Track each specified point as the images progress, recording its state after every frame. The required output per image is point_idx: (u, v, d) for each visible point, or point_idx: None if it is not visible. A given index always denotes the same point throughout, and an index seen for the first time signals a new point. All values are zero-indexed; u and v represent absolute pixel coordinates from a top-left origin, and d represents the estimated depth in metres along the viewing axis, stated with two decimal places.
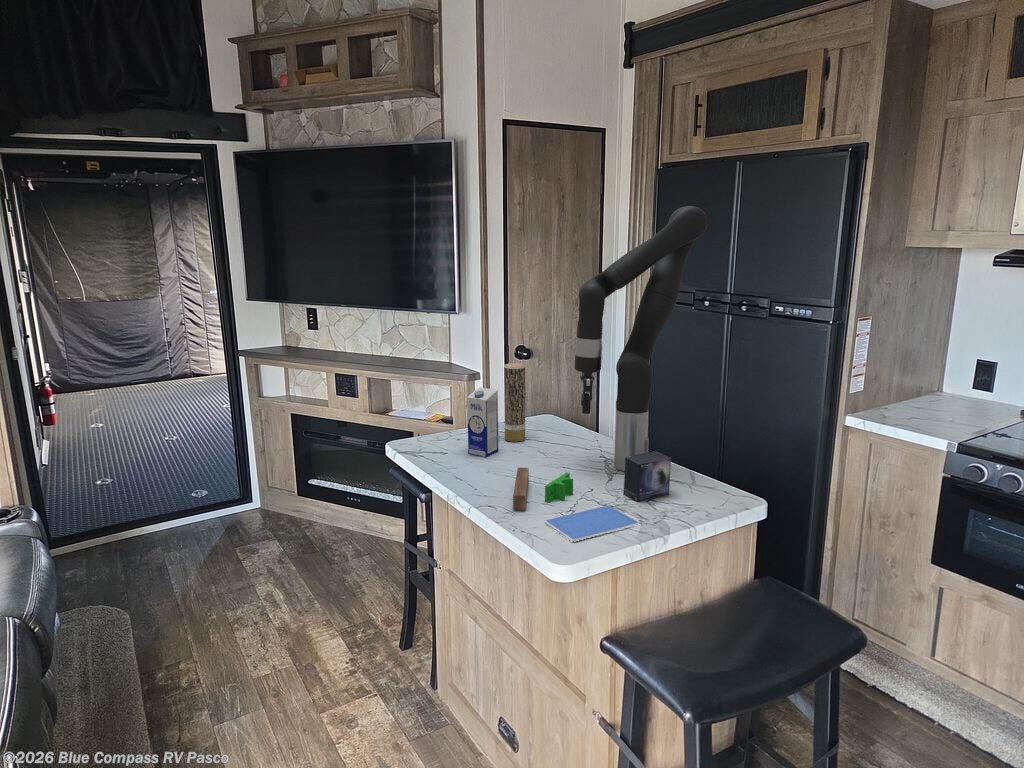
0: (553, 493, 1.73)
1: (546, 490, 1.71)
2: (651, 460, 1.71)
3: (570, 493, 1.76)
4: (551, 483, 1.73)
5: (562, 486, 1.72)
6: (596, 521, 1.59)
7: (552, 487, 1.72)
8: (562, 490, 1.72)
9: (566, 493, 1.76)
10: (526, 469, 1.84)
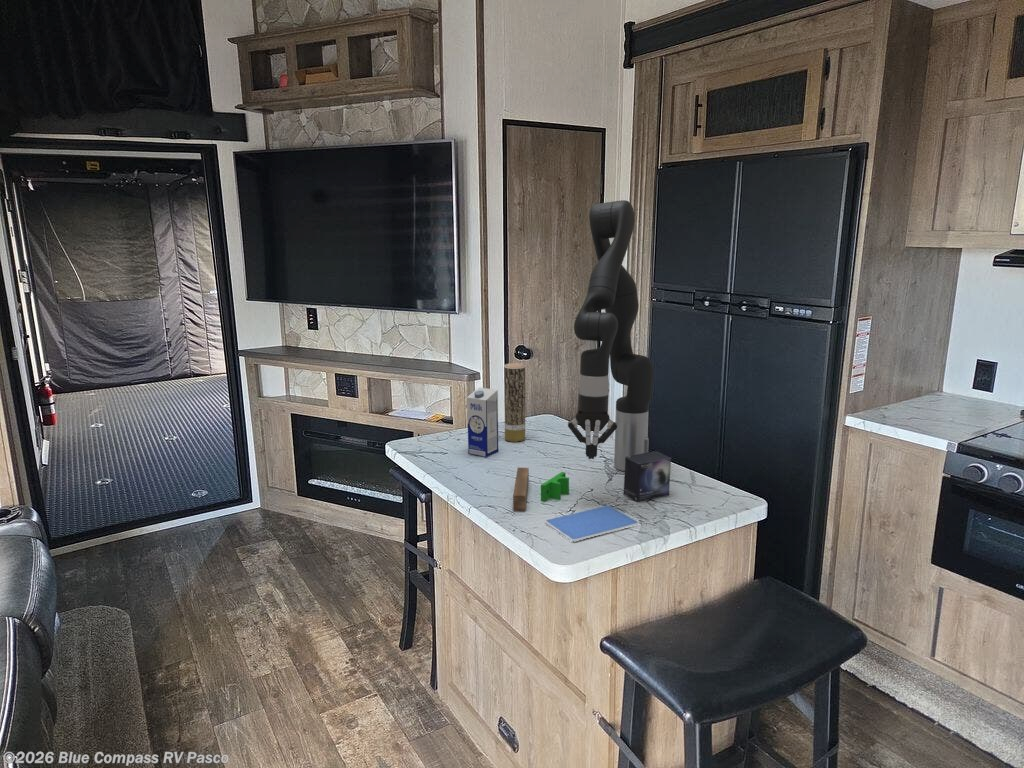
0: (549, 492, 1.74)
1: (542, 489, 1.72)
2: (651, 460, 1.71)
3: (566, 492, 1.77)
4: (547, 482, 1.73)
5: (558, 485, 1.72)
6: (595, 521, 1.59)
7: (547, 486, 1.73)
8: (558, 489, 1.73)
9: (562, 492, 1.77)
10: (526, 469, 1.84)
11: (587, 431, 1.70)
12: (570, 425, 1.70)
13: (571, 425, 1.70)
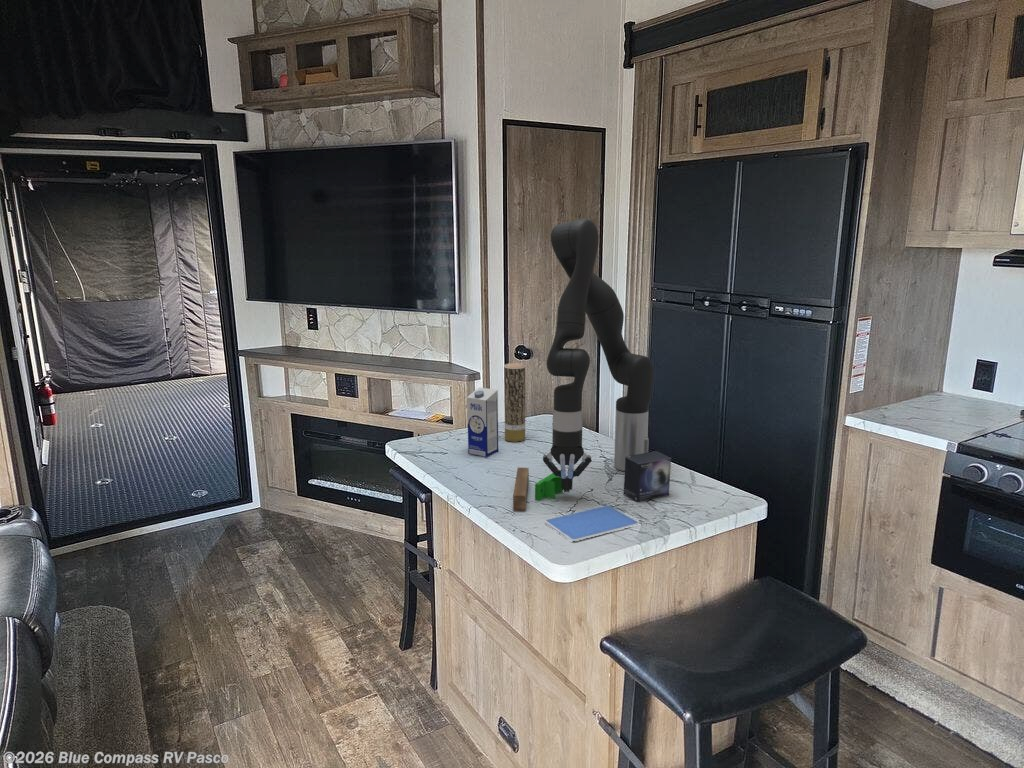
0: (543, 491, 1.74)
1: (536, 488, 1.72)
2: (651, 460, 1.71)
3: (560, 491, 1.77)
4: (541, 481, 1.74)
5: (552, 484, 1.73)
6: (595, 521, 1.59)
7: (542, 485, 1.73)
8: (552, 488, 1.73)
9: (556, 491, 1.78)
10: (526, 469, 1.84)
11: (562, 465, 1.71)
12: (545, 459, 1.72)
13: (546, 459, 1.72)
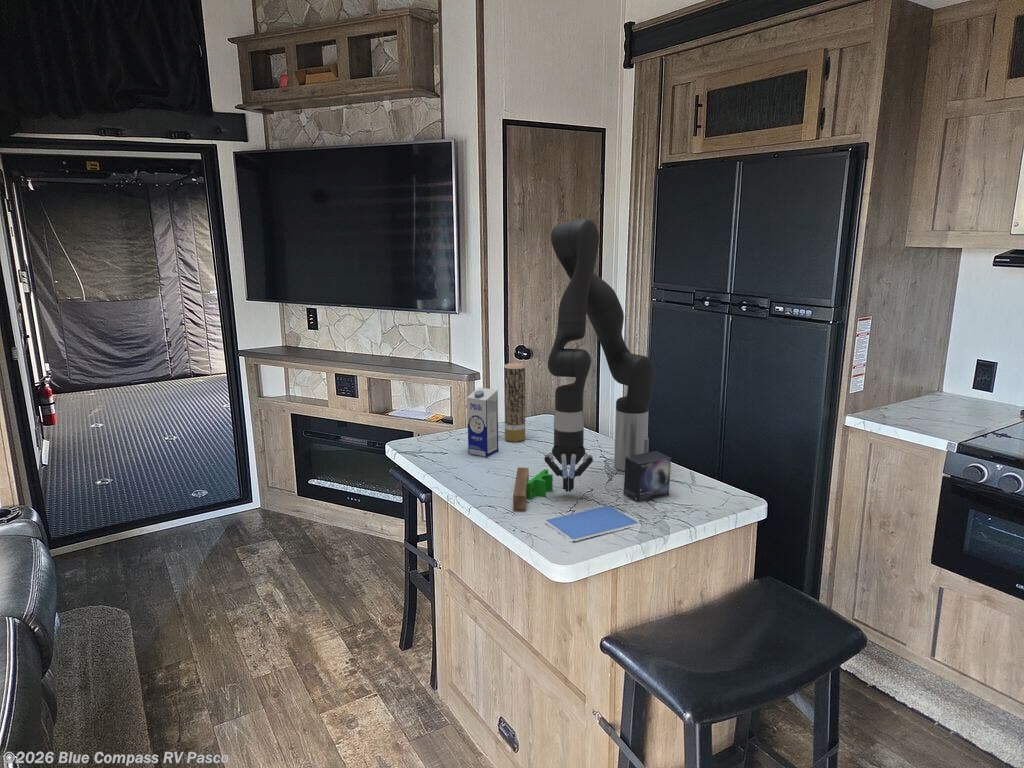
0: (534, 490, 1.75)
1: (528, 487, 1.73)
2: (651, 460, 1.71)
3: (550, 489, 1.79)
4: (532, 480, 1.75)
5: (543, 482, 1.74)
6: (595, 521, 1.59)
7: (533, 484, 1.74)
8: (543, 486, 1.75)
9: (546, 489, 1.79)
10: (526, 469, 1.84)
11: (563, 465, 1.72)
12: (546, 459, 1.73)
13: (547, 459, 1.73)
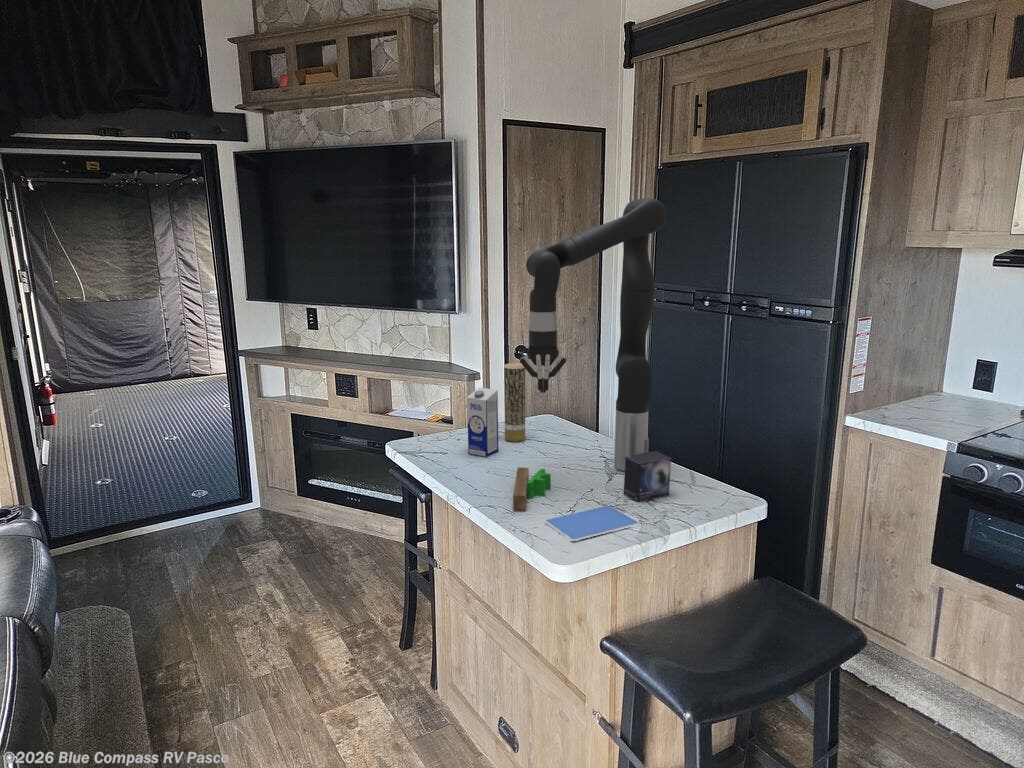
0: (534, 489, 1.76)
1: (528, 487, 1.73)
2: (651, 460, 1.71)
3: (548, 488, 1.80)
4: (531, 479, 1.75)
5: (543, 482, 1.75)
6: (595, 521, 1.59)
7: (533, 483, 1.75)
8: (543, 485, 1.75)
9: (544, 488, 1.79)
10: (526, 469, 1.84)
11: (538, 365, 1.79)
12: (522, 360, 1.80)
13: (523, 360, 1.80)
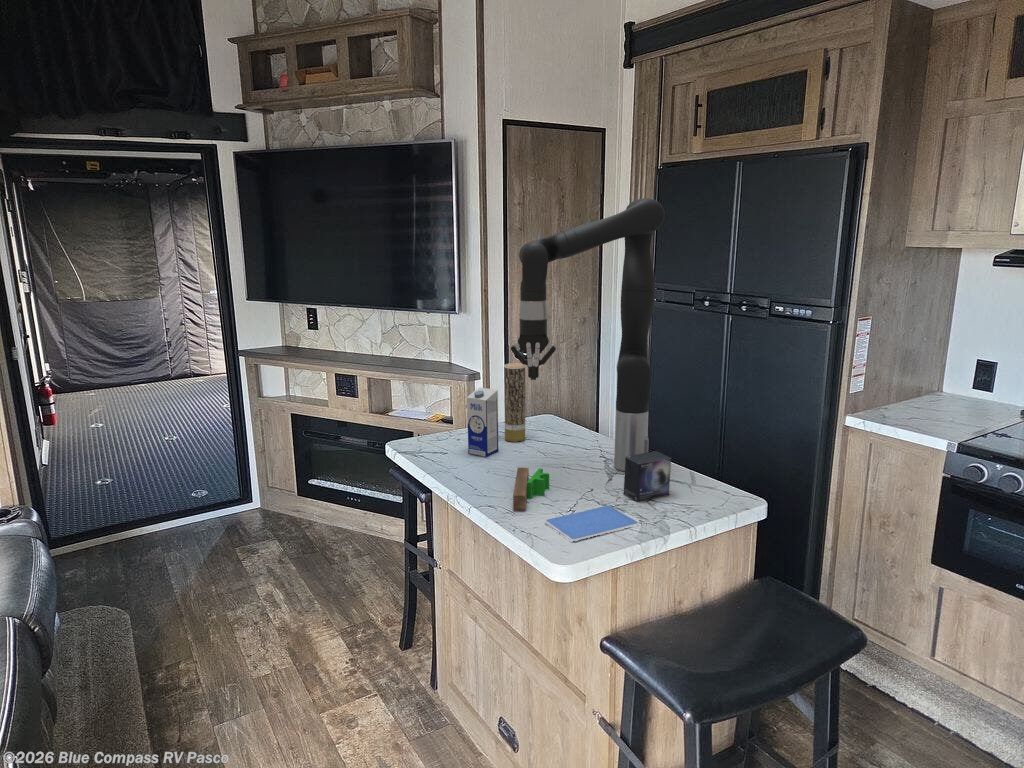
0: (533, 489, 1.76)
1: (528, 486, 1.73)
2: (651, 460, 1.71)
3: (547, 488, 1.80)
4: (531, 479, 1.75)
5: (542, 481, 1.75)
6: (595, 521, 1.59)
7: (532, 483, 1.75)
8: (542, 485, 1.75)
9: None
10: (526, 469, 1.84)
11: (528, 353, 1.84)
12: (513, 348, 1.85)
13: (513, 348, 1.85)
